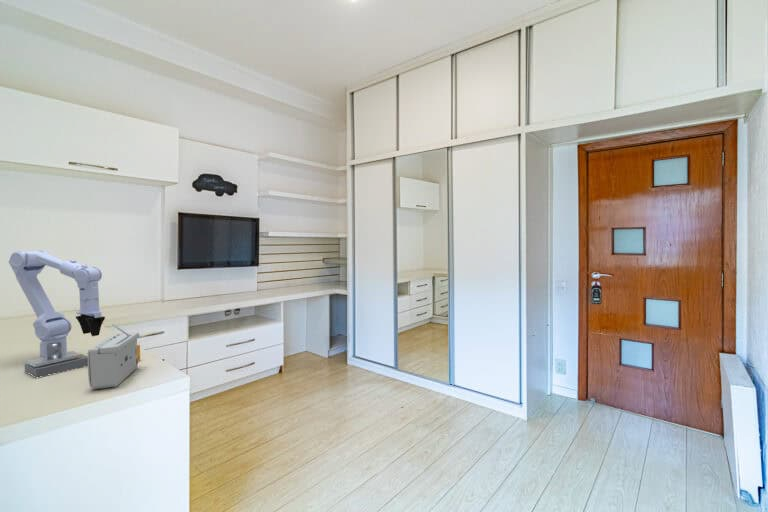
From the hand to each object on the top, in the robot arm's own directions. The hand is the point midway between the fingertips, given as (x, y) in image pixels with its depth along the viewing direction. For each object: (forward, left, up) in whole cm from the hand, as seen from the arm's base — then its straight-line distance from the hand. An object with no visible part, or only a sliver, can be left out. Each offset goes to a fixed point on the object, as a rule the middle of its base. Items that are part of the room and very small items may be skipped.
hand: (91, 334), depth 143 cm
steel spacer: (0, -11, -6) cm, 12 cm away
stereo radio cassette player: (+29, -4, -11) cm, 31 cm away
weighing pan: (-1, -11, -7) cm, 13 cm away
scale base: (-1, -10, -10) cm, 14 cm away
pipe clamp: (+16, +3, -11) cm, 19 cm away
